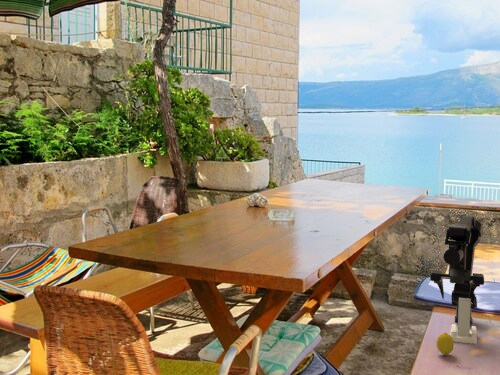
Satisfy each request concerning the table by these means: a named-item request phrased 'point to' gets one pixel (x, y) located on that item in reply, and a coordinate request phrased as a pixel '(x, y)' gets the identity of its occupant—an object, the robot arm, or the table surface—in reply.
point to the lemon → (445, 343)
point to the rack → (464, 339)
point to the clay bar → (464, 317)
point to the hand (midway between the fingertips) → (456, 299)
